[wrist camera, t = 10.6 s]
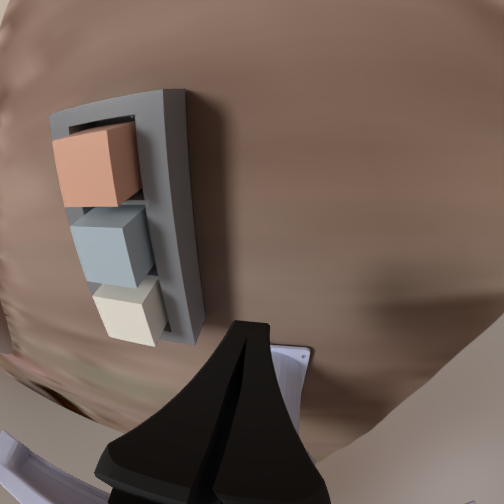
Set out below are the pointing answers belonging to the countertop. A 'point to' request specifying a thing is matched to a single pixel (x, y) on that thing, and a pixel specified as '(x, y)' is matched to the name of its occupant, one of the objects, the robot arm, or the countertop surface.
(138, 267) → the key slate
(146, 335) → the key ivory
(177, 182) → the grey slotted frame
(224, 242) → the countertop surface
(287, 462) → the robot arm
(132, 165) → the key terracotta
